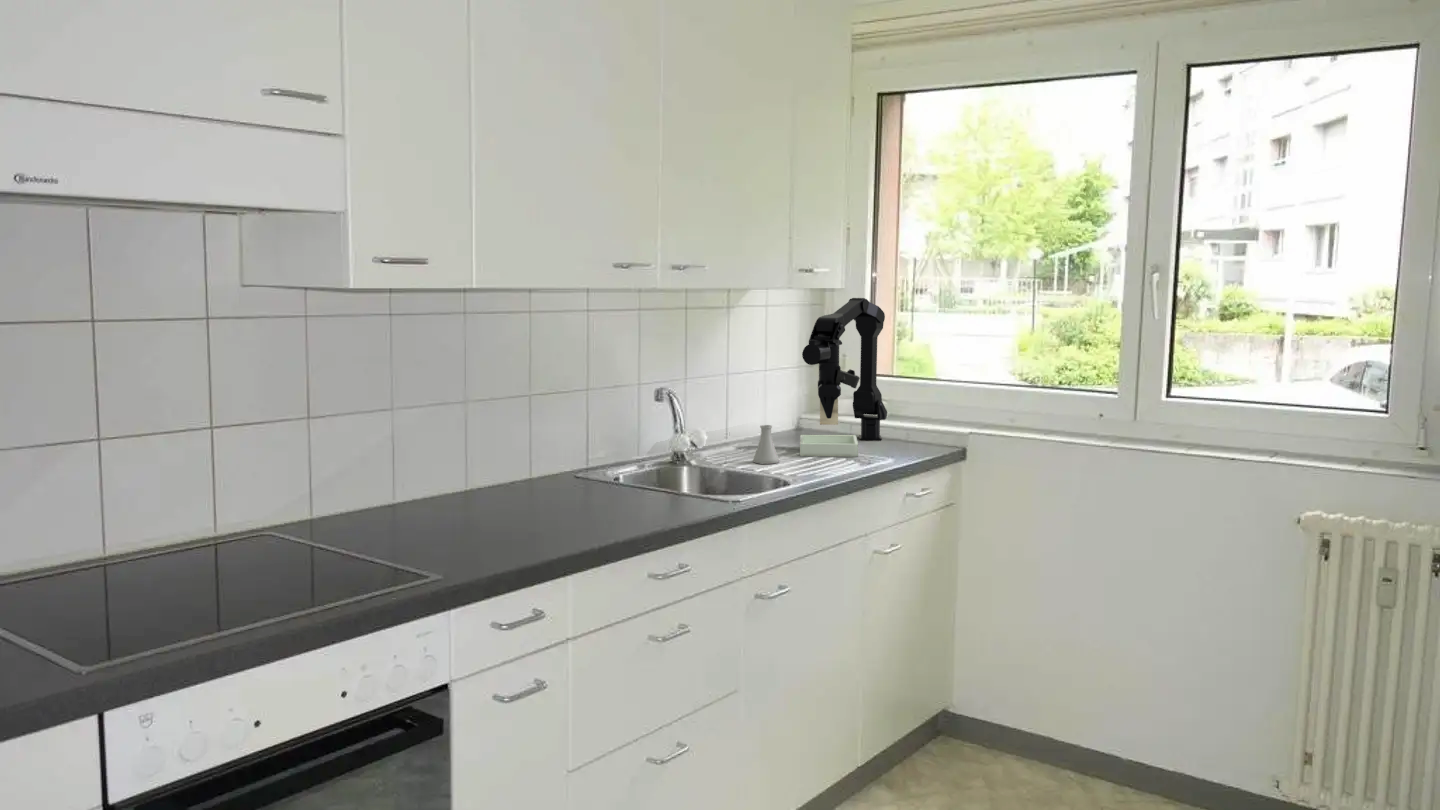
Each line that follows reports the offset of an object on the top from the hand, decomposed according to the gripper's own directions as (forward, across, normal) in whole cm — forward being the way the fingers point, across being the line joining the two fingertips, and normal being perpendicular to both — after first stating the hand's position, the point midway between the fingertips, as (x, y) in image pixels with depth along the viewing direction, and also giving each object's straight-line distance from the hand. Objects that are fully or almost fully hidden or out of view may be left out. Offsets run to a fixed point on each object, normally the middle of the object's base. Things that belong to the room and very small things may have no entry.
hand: (828, 416), depth 318 cm
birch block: (+2, 0, 0) cm, 2 cm away
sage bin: (+10, 0, 0) cm, 10 cm away
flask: (+10, -17, +17) cm, 26 cm away
